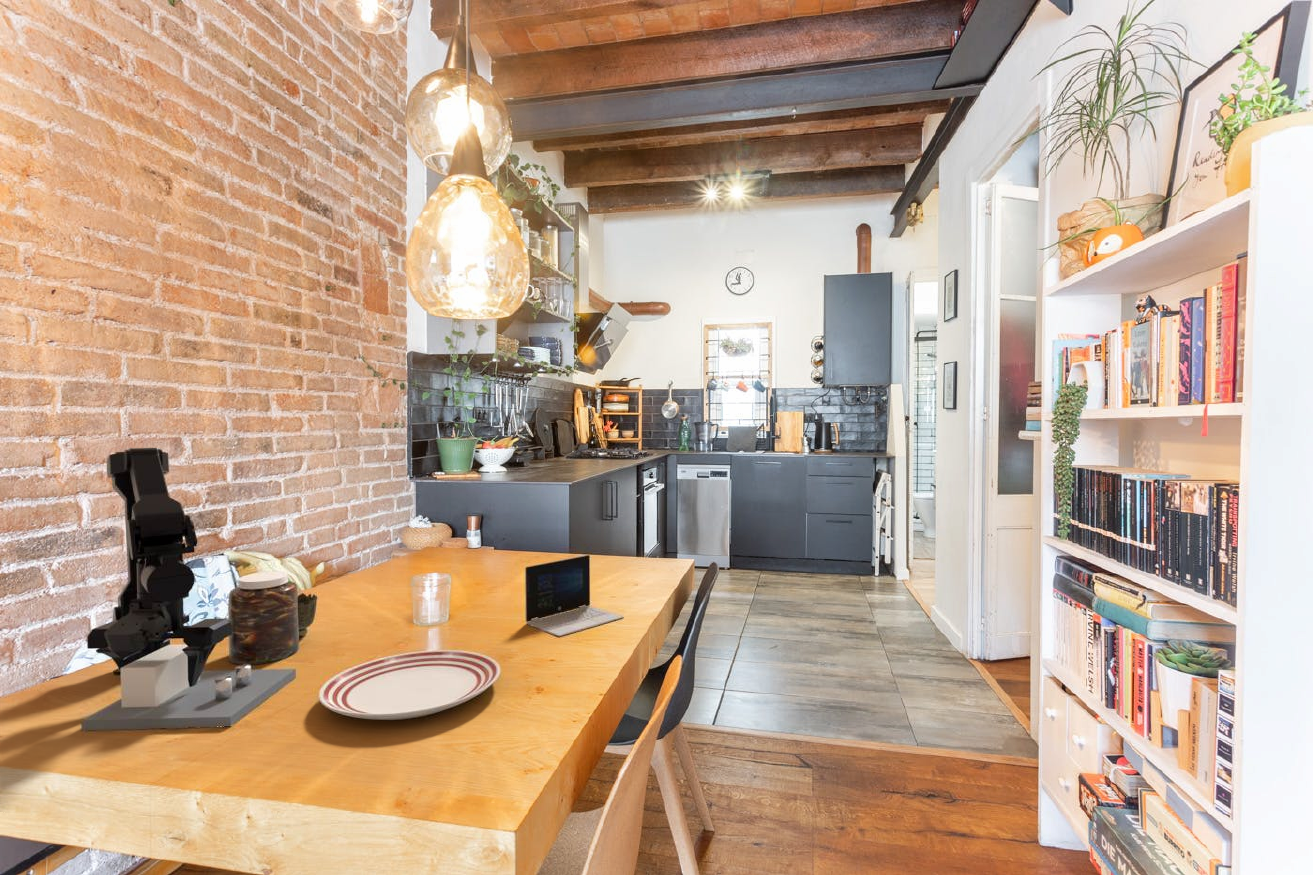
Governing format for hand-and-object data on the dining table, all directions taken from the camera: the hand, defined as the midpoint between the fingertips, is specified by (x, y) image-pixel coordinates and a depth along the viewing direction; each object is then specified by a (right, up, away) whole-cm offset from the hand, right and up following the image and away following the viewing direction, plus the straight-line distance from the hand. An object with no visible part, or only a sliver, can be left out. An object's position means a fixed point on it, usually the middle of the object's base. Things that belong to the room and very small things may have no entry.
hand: (162, 686), depth 101 cm
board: (+5, -3, 0) cm, 6 cm away
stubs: (+11, -1, 0) cm, 11 cm away
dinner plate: (+39, -3, +3) cm, 39 cm away
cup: (+4, -2, +31) cm, 32 cm away
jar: (+3, -2, +21) cm, 22 cm away
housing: (0, -1, 0) cm, 1 cm away
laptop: (+60, -2, +40) cm, 73 cm away
